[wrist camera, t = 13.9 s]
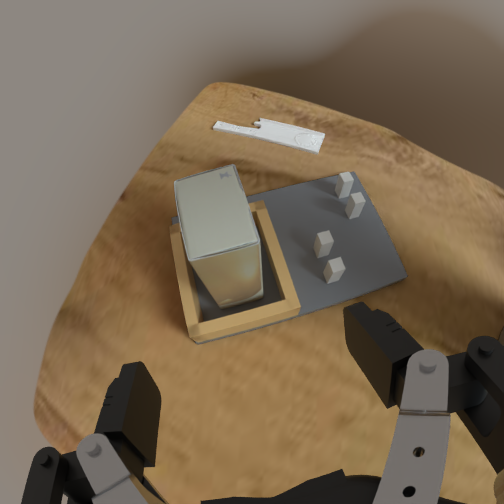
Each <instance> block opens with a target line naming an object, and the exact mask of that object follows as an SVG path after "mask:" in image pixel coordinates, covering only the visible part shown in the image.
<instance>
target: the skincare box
mask: <svg viewBox="0 0 504 504" xmlns="http://www.w3.org/2000/svg"><path fill="white" fill-rule="evenodd" d="M174 190H175V199H176V206H177V212H178V217H179V223H180V228H181V232H182V237H183V241H184V245H185V249H186V253H187V257H188V261H189V262H190V264H191V265H192V267H193V268H194V270H195V271H196V273H197V275H198V276H199V277H200V279H201V280H202V282H203V283H204V285H205V286H206V288H207V289H208V291H209V292H210V294H211V295H212V297H213V298H214V300H215V301H216V303H217V304H218V306H219V307H220V309H225V308H229V307H234V306H237V305H241V304H245V303H249V302H252V301H256V300H259V299H262V298H263V280H262V263H261V246H260V238H259V235H258V232H257V229H256V226H255V222H254V219H253V216H252V213H251V210H250V207H249V204H248V201H247V198H246V196H245V193H244V190H243V187H242V184H241V181H240V178H239V175H238V173H237V170H236V167H235V165H234V164H232V165H228V166H224V167H220V168H216V169H212V170H209V171H205V172H201V173H198V174H194V175H191V176H188V177H185V178H182V179H179V180H176V181H175V182H174Z"/></svg>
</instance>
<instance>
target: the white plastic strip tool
mask: <svg viewBox="0 0 504 504" xmlns="http://www.w3.org/2000/svg"><path fill="white" fill-rule="evenodd" d="M254 125H255V126H258V127H260V128H259V129H257V128H248V127H241V126H236V125H232V124H228V123H224V122H221V121H217V122H216V124H215V125H214V126H213V130H216V131H221V132H226V133H231V134H236V135H241V136H246V137H250V138H255V139H259V140H263V141H268V142H272V143H276V144H280V145H284V146H287V147H291V148H295V149H299V150H302V151H306V152H310V153H313V154H317V155H318V152H319V150H320V147H321V144H322V142H323V139H324V136H325V134H324V133H320V132H316V131H313V130H309V129H305V128H301V127H297V126H293V125H289V124H285V123H281V122H276V121H272V120H267V119H262V118H260V121H259V122H258V121H256V122H254Z"/></svg>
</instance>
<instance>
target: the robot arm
mask: <svg viewBox="0 0 504 504" xmlns="http://www.w3.org/2000/svg"><path fill="white" fill-rule="evenodd" d="M343 315H344V326H345V339H346V344H347V347H348V349H349V352H350V353H351V355H352V356H353V358H354V359H355V361H356V362H357V364H358V365H359V367H360V368H361V370H362V371H363V373H364V374H365V376H366V377H367V379H368V380H369V382H370V383H371V385H372V386H373V388H374V389H375V391H376V392H377V394H378V396H379V397H380V399H381V400H382V402H383V403H384V405H385V406H386V408H387V409H388V408H390V407H392V406H394V405H397V406H398V407H399V409H400V411H399V415H398V419H397V424H396V428H395V432H394V436H393V440H392V444H391V448H390V452H389V455H388V459H387V462H386V465H385V469H384V472H383V475H382V478H381V477H377V476H371V475H350V476H345V474H344V472H343V470H342V469H341V470H338V471H335V472H332V473H329V474H326V475H323V476H320V477H317V478H314V479H310V480H307V481H305V482H304V483H302V484H300V485H298V486H296V487H294V488H292V489H290V490H288V491H286V492H284V493H282V494H279V495H277V496H275V497H271V498H252V497H230V498H222V499H214V500H205V501H201V504H465V503H461V502H457V501H453V500H449V499H445V498H442V497H439V494H440V489H441V484H442V479H443V474H444V468H445V462H446V455H447V448H448V440H449V430H450V413H453V412H456V413H457V415H458V416H459V417H460V419H461V420H462V422H463V423H464V425H465V426H466V427H467V429H468V430H469V432H470V433H471V435H472V436H473V438H474V439H475V441H476V442H477V444H478V445H479V447H480V448H481V450H482V451H483V453H484V454H485V456H486V457H487V459H488V460H489V462H490V463H491V465H492V467H493V468H494V470H495V471H496V473H497V477H496V479H495V482H494V495H495V498H496V500H497V503H496V504H504V328H503V330H502V332H501V334H500V337H499V341H498V340H496V339H495V338H492V337H489V336H479V337H476V338H474V339H473V340H472V341H471V342H470V343H469V345H468V348H467V352H463V353H459V354H455V355H451V356H445V355H444V354H442V353H441V352H439V351H436V350H431V349H426V350H424V349H423V348H422V347H421V346H420V345H419V344H418V343H417V342H416V340H415V339H414V338H413V337H412V336H411V335H410V334H409V333H408V332H407V331H406V330H405V329H404V328H403V329H402V326H401V325H400V324H399V323H398V322H397V323H396V320H395V319H393V318H392V317H391V316H390V315H389V314H388V313H386V312H383V311H381V310H379V309H376V310H374V311H371V309H370V308H369V307H368V306H367V305H366V304H365V303H364V302H359V303H356V304H353V305H350V306H347V307H345V308H344V310H343ZM105 398H106V399H104V402H103V407H102V408H101V412H100V415H99V418H98V422H97V425H96V429H95V432H94V434H91V435H88V436H86V437H85V438H84V439H83V440H81V442H80V443H79V445H78V447H77V451H73V452H70V453H66V454H62V455H61V454H60V453H59V452H58V451H57V450H56V449H55V448H53V447H45V448H42V449H41V450H39V451H38V452H37V453H36V455H35V456H34V458H33V461H32V464H31V468H30V472H29V475H28V478H27V482H26V486H25V490H24V494H23V498H22V502H21V504H61V501H62V496H63V494H64V495H66V496H67V497H68V501H67V504H169V503H168V502H167V501H166V500H165V499H164V498H163V496H162V495H161V494H160V493H159V492H158V491H157V489H156V488H155V487H154V486H153V485H152V483H151V482H150V481H149V480H148V478H147V477H146V476H145V475H144V474H143V472H144V467H155V459H156V447H157V437H158V427H159V418H160V410H161V395H160V391H159V389H158V387H157V385H156V384H155V382H154V380H153V379H152V377H151V375H150V373H149V372H148V370H147V368H146V367H145V365H144V363H143V362H141V361H139V362H134V363H128V364H124V365H123V366H122V369H121V372H120V375H119V378H115V379H114V381H113V382H112V383H111V384H110V386H109V387H108V390H107V393H106V396H105Z"/></svg>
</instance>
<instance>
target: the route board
mask: <svg viewBox="0 0 504 504" xmlns="http://www.w3.org/2000/svg"><path fill="white" fill-rule="evenodd" d="M246 198H247V201H248V204H249V207H250V210H251V213H252V216H253V219H254V222H255V226H256V229H257V232H258V235H259V238H260V246H261V263H262V280H263V298H262V299H259V300H256V301H252V302H249V303H245V304H241V305H237V306H234V307H229V308H225V309H220V307H219V306H218V304H217V303H216V301H215V300H214V298H213V297H212V295H211V294H210V292H209V291H208V289H207V288H206V286H205V285H204V283H203V282H202V280H201V279H200V277H199V276H198V275H197V273H196V271H195V270H194V268H193V267H192V265H191V264H190V262H189V261H188V257H187V253H186V249H185V245H184V241H183V237H182V232H181V228H180V223H179V217H178V216H176V217H172V225H171V226H169V231H170V237H171V244H172V250H173V256H174V262H175V268H176V273H177V279H178V284H179V289H180V295H181V300H182V305H183V310H184V315H185V319H186V324H187V329H188V333H189V338H191V339H193V340H194V341H195V343H196V344H202V343H206V342H210V341H214V340H218V339H222V338H226V337H230V336H234V335H237V334H241V333H245V332H248V331H252V330H256V329H259V328H263V327H266V326H270V325H273V324H276V323H280V322H283V321H286V320H290V319H293V318H296V317H299V316H303V315H306V314H309V313H312V312H315V311H318V310H321V309H324V308H327V307H330V306H333V305H336V304H339V303H342V302H345V301H348V300H351V299H354V298H356V297H359V296H362V295H365V294H368V293H370V292H373V291H376V290H378V289H381V288H384V287H386V286H389V285H392V284H394V283H397V282H399V281H402V280H404V279H405V278H407V277H408V275H407V273H406V271H405V269H404V266H403V264H402V262H401V260H400V258H399V255H398V253H397V251H396V249H395V247H394V245H393V243H392V241H391V239H390V237H389V235H388V233H387V231H386V229H385V227H384V225H383V223H382V221H381V219H380V217H379V215H378V213H377V211H376V209H375V207H374V206H373V204H372V202H371V200H370V198H369V196H368V195H367V193H366V191H365V189H364V188H363V186H362V184H361V182H360V181H359V179H358V177H357V175H356V174H355V172H344V173H340V174H339V175H335V176H331V177H326V178H322V179H317V180H313V181H308V182H304V183H300V184H296V185H291V186H287V187H283V188H279V189H275V190H271V191H267V192H263V193H259V194H255V195H251V196H247V197H246Z"/></svg>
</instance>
